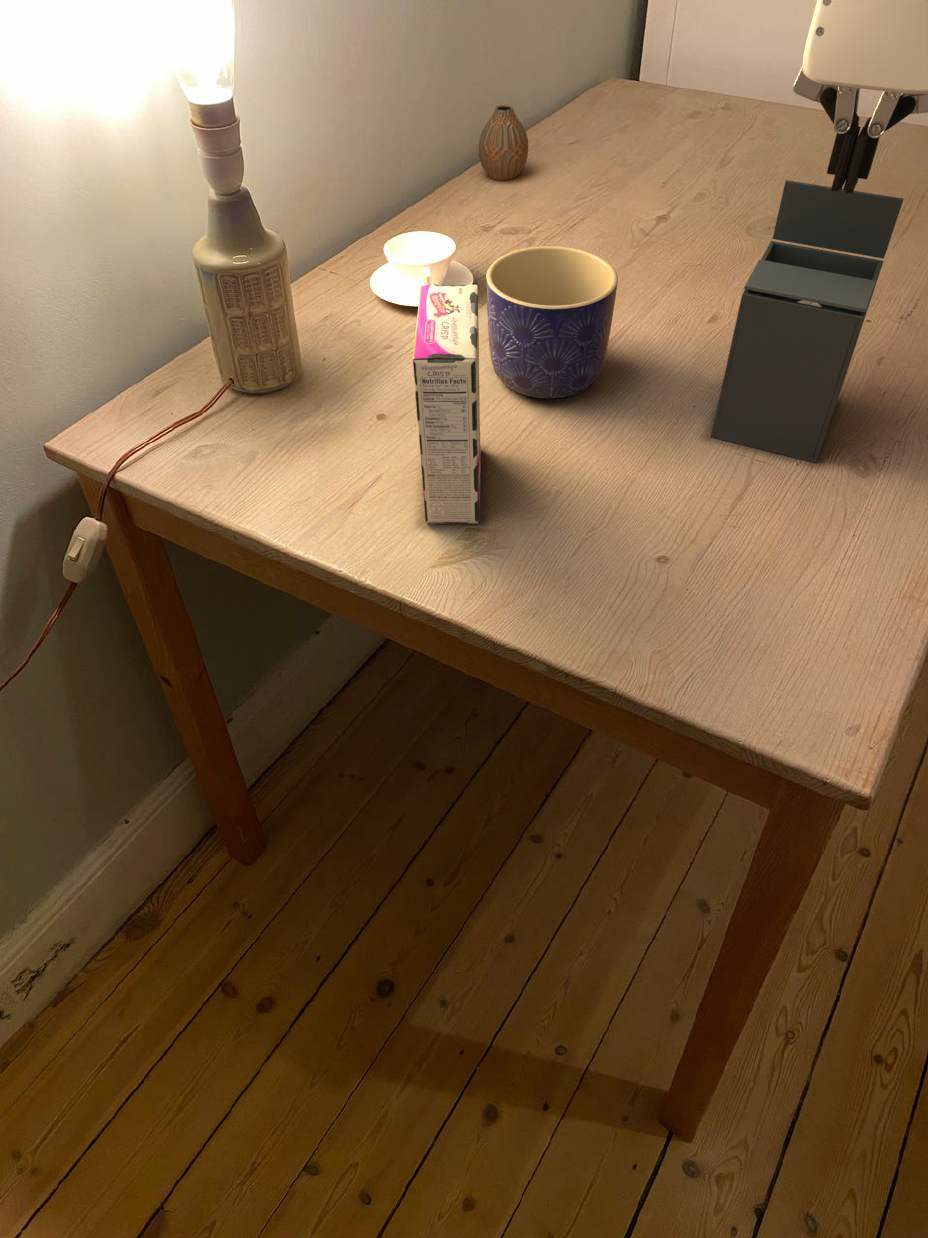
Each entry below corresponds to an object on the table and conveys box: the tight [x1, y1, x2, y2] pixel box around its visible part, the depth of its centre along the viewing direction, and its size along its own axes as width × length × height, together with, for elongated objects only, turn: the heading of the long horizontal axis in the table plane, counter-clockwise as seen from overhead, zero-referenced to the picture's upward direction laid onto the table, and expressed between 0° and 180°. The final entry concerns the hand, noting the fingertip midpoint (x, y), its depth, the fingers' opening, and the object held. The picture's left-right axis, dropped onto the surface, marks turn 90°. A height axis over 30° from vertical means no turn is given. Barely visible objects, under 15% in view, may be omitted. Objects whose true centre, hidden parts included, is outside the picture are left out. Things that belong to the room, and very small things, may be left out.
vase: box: [478, 104, 529, 181], centre depth 126 cm, size 7×7×9 cm
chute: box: [710, 179, 905, 464], centre depth 81 cm, size 12×10×20 cm
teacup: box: [369, 231, 474, 307], centre depth 105 cm, size 12×12×5 cm
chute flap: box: [743, 258, 877, 312], centre depth 76 cm, size 5×10×1 cm, turn 65°
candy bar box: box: [412, 284, 482, 525], centre depth 76 cm, size 11×5×16 cm, turn 179°
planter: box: [485, 245, 619, 399], centre depth 90 cm, size 12×12×11 cm
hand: (844, 185), depth 71 cm, fingers closed
